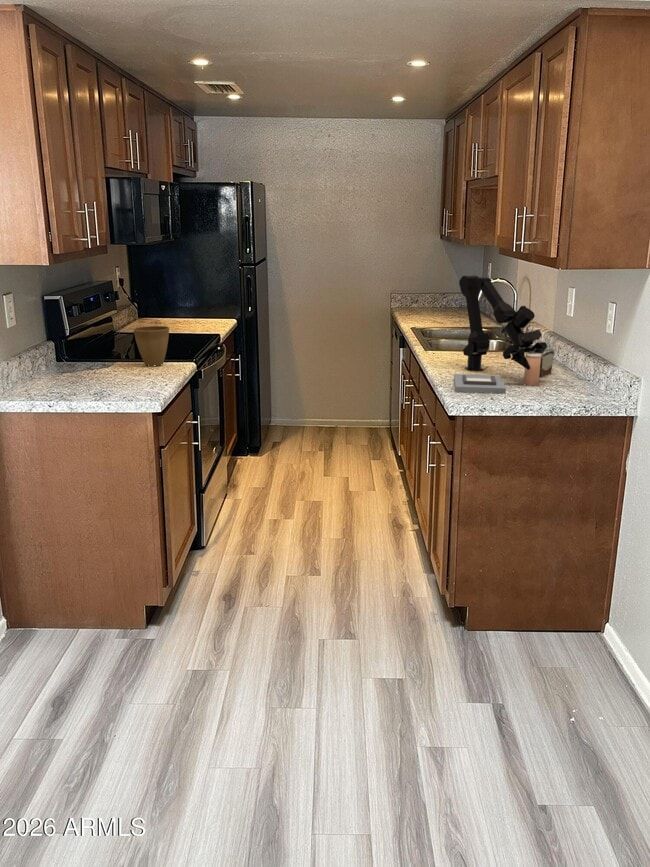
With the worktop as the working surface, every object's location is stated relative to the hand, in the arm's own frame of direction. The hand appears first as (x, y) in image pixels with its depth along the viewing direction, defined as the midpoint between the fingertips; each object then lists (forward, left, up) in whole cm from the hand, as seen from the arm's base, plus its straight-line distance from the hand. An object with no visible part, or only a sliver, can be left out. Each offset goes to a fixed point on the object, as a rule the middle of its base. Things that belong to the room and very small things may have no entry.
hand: (535, 368), depth 284 cm
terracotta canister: (-1, -1, -7) cm, 7 cm away
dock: (0, -22, -7) cm, 23 cm away
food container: (-19, +9, -7) cm, 23 cm away
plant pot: (-49, -151, -7) cm, 159 cm away
